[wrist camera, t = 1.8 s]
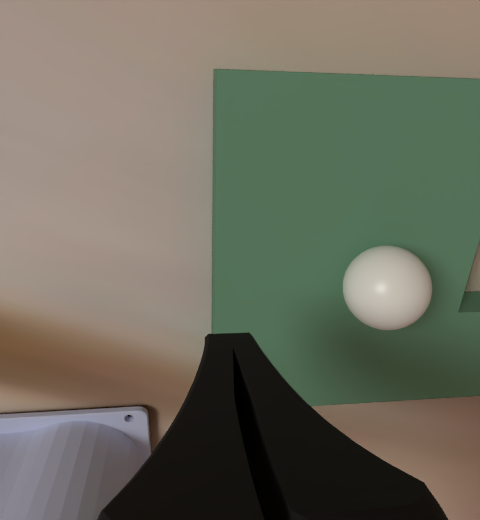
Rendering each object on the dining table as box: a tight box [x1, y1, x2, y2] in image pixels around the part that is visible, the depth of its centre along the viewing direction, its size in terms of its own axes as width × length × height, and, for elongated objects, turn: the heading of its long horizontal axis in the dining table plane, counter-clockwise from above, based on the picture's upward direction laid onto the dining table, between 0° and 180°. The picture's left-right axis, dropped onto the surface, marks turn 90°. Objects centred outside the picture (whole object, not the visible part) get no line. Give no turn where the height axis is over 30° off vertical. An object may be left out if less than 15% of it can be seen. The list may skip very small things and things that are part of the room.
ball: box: [343, 245, 432, 330], centre depth 17 cm, size 4×4×4 cm
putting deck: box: [212, 69, 480, 406], centre depth 20 cm, size 19×16×2 cm
